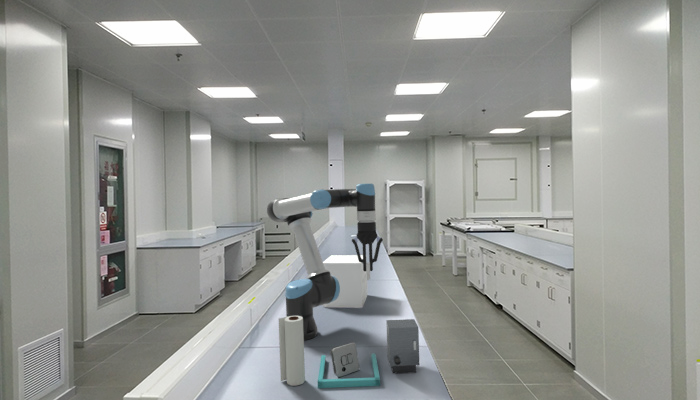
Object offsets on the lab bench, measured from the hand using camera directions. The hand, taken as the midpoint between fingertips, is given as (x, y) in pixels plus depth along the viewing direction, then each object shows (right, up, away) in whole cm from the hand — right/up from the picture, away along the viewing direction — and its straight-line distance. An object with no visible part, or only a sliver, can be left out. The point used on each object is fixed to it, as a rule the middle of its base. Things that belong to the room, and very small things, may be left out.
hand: (368, 278), depth 158 cm
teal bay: (-8, -27, -24) cm, 37 cm away
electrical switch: (-9, -28, -24) cm, 38 cm away
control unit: (+11, -27, -23) cm, 37 cm away
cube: (-9, -26, +62) cm, 68 cm away
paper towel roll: (-26, -28, -30) cm, 48 cm away
